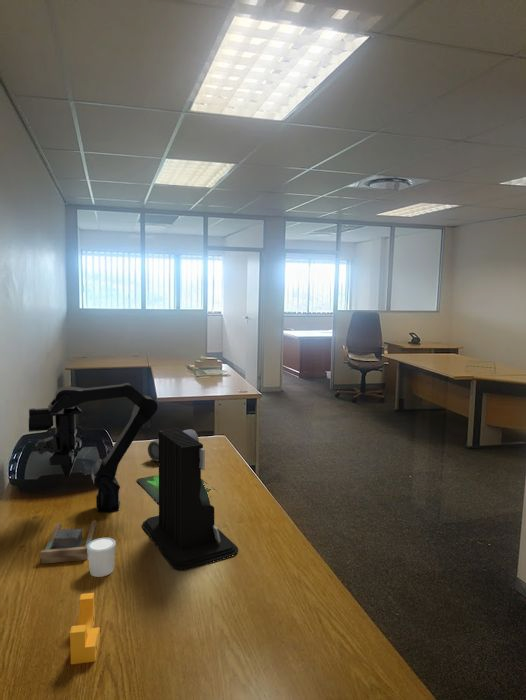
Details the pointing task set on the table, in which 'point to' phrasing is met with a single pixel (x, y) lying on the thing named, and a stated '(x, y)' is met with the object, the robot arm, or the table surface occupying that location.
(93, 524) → the brown u-shaped frame
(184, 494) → the award
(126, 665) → the table surface
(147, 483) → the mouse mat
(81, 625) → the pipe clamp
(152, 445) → the bluetooth speaker
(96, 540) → the white cylinder
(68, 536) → the block
